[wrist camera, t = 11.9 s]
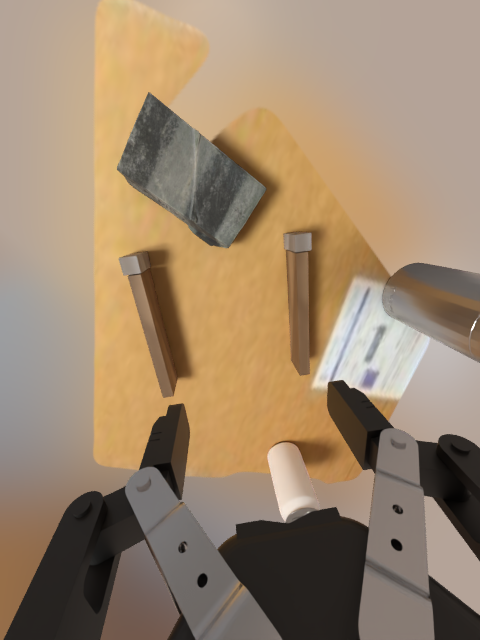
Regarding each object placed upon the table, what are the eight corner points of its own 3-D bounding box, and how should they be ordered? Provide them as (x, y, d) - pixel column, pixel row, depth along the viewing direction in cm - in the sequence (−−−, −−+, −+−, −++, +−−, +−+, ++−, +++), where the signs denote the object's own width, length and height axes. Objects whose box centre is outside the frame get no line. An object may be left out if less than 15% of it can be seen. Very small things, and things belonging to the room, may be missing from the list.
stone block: (223, 253, 34) (224, 258, 29) (124, 186, 30) (106, 179, 25) (260, 193, 32) (269, 188, 27) (158, 112, 28) (146, 89, 23)
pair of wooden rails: (297, 231, 34) (311, 232, 29) (301, 358, 41) (312, 375, 36) (132, 253, 32) (118, 258, 28) (166, 379, 40) (160, 400, 35)
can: (303, 456, 50) (328, 523, 38) (273, 468, 50) (291, 538, 39) (292, 435, 47) (316, 500, 36) (262, 448, 48) (276, 516, 37)
